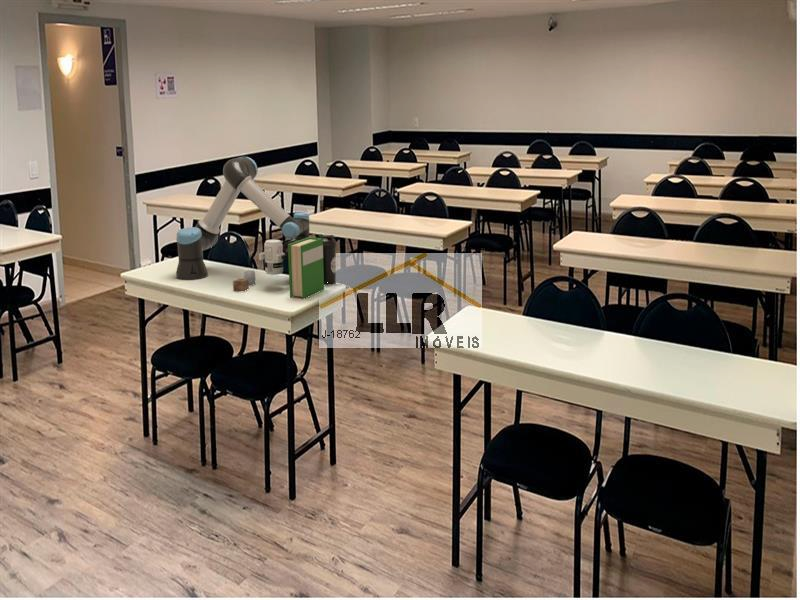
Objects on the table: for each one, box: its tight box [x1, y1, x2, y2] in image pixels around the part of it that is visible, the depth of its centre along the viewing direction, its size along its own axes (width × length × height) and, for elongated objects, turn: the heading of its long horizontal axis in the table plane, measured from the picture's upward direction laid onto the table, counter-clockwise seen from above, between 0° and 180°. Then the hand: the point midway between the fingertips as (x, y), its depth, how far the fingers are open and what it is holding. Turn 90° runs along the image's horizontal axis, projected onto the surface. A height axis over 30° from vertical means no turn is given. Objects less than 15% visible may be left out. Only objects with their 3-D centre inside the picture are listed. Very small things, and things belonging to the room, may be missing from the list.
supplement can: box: [263, 239, 284, 276], centre depth 341 cm, size 8×8×15 cm
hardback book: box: [288, 236, 325, 299], centre depth 333 cm, size 18×7×24 cm, turn 156°
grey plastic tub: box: [243, 270, 257, 286], centre depth 352 cm, size 5×5×6 cm
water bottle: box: [316, 234, 338, 286], centre depth 352 cm, size 10×10×23 cm
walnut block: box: [232, 277, 250, 292], centre depth 341 cm, size 5×5×5 cm
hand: (268, 257), depth 336 cm, fingers closed on supplement can, 8 cm apart
